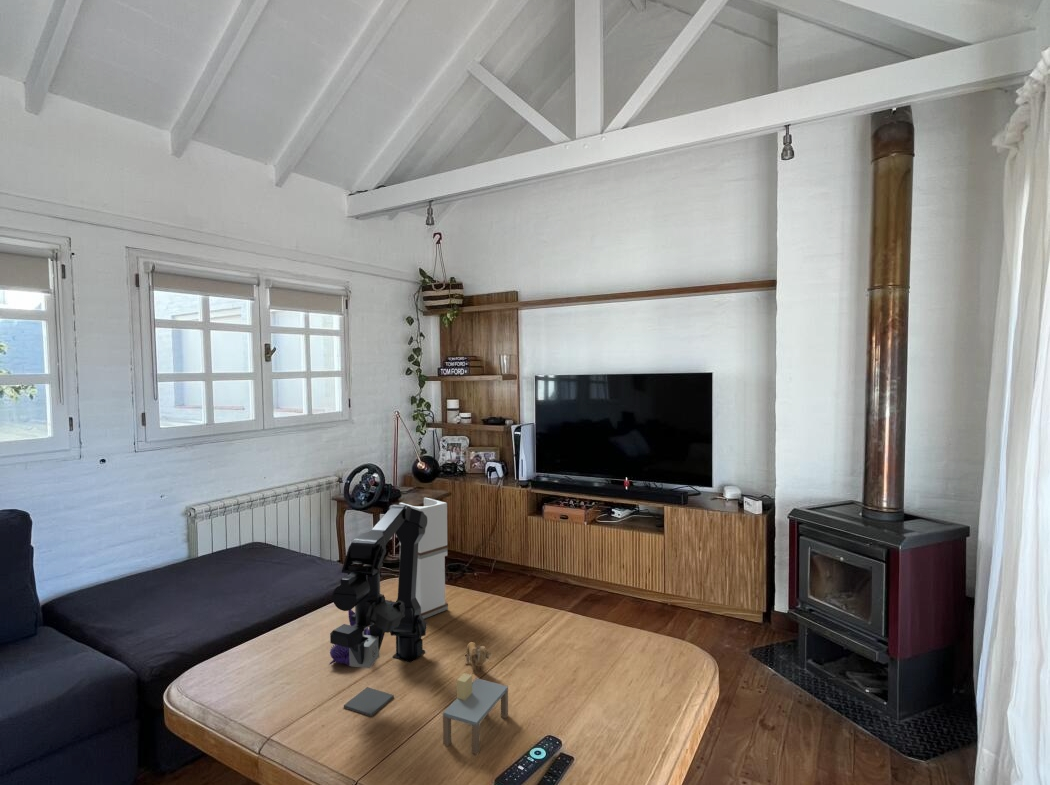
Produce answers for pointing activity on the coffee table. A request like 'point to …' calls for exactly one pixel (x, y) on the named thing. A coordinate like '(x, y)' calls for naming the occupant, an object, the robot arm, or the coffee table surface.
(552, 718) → the coffee table surface
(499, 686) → the small grey table
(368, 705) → the mat
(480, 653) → the lion figurine
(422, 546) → the white square tower
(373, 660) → the dice cube
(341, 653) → the creature
